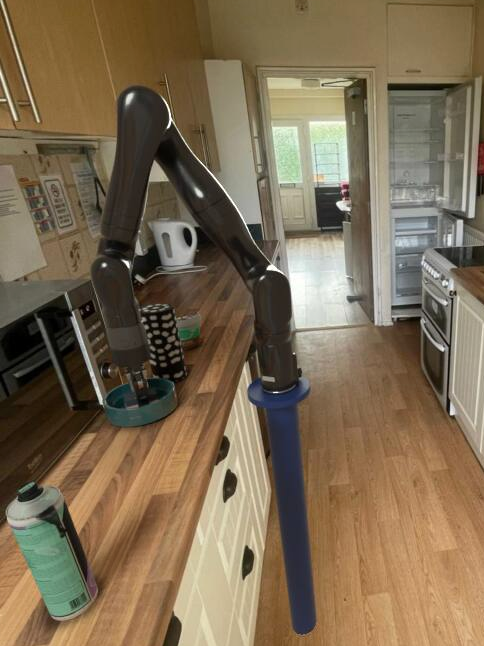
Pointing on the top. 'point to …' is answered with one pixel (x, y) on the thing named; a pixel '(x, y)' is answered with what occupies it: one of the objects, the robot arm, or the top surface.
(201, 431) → the top surface
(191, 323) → the food container
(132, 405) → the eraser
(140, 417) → the bowl
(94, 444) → the top surface
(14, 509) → the spray can
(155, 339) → the spotted tube
